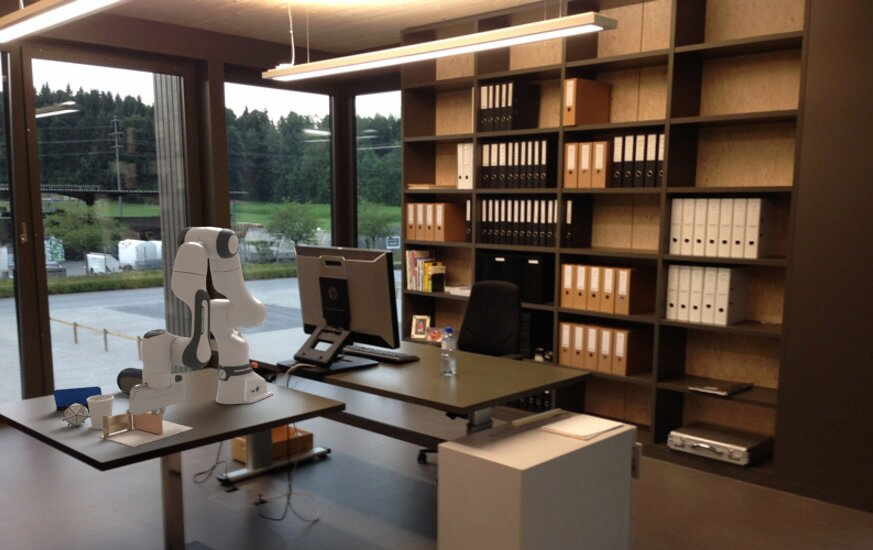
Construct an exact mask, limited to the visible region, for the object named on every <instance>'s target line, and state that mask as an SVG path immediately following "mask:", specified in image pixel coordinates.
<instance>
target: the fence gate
mask: <svg viewBox="0 0 873 550" xmlns="http://www.w3.org/2000/svg"><path fill="white" fill-rule="evenodd" d="M132 427H133V428H136V429H140V430H144V431H149V432H153V433H157V434H158V435H161V434H163V424H162V414H155V413H151V411H149V412H146V413H143V414H140V415H134V414H132Z"/></svg>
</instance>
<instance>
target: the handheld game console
mask: <svg viewBox="0 0 873 550" xmlns="http://www.w3.org/2000/svg"><path fill="white" fill-rule="evenodd" d="M96 395H103V393H102V388H101V387H100V386H86V387H75V388H73V387H72V388H64V389H63V388H60V389H54V390H53V397H54V401H55V406H56V407H55V408H56V412H62V411H63V410H66V409H67V408H68V407H67V405H69V406H71V405H73V404H75V401H76V403H77V404H82V405H83V403H85V404H84V406H85V407H86V408H89V407H88V402H87V398H89V397H92V396H96Z"/></svg>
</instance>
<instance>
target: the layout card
mask: <svg viewBox="0 0 873 550" xmlns="http://www.w3.org/2000/svg"><path fill="white" fill-rule="evenodd" d="M162 424H163V434H161V435H158V434H157V433H153V432H149V431H144V430H140V429H136V428H133V426H132V431H127V429H125V430H121V431H118V432H114V433H111V434H109V437H108V438H106V439H105V440H108V441H110V440H111V442H115V443H117V444H120V443H121V445H124V446H128V447H131V448H136V447H140V446H143V445H146V444H149V443H152V441H153V442H155V441H159V440H162V439H165V438H168V437H172V436H175V435H179V434H182V433H185V432H188V431H191V429H192V430H193V428H194V427H191V426H186V425H181V424H179V423H174V422H171V421H166V420H163V421H162ZM181 432H182V433H181ZM178 433H179V434H178ZM100 437H101V439H104V436H103V434H102V435H99V438H100ZM145 443H146V444H145ZM139 445H140V446H139Z"/></svg>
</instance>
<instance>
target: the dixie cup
mask: <svg viewBox="0 0 873 550" xmlns="http://www.w3.org/2000/svg"><path fill="white" fill-rule="evenodd" d="M114 398H115V397H114V395H112V394H102V395H96V396H92V397H89V398H87V402H88V407H89V410H88V411H89V412H88V413H89V416H90V418H89V419H90V423H91V429H93V428H94V429H93V430H103V429H102V428H103V416H104V415H108V417H111V416H113V405H114Z"/></svg>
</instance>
